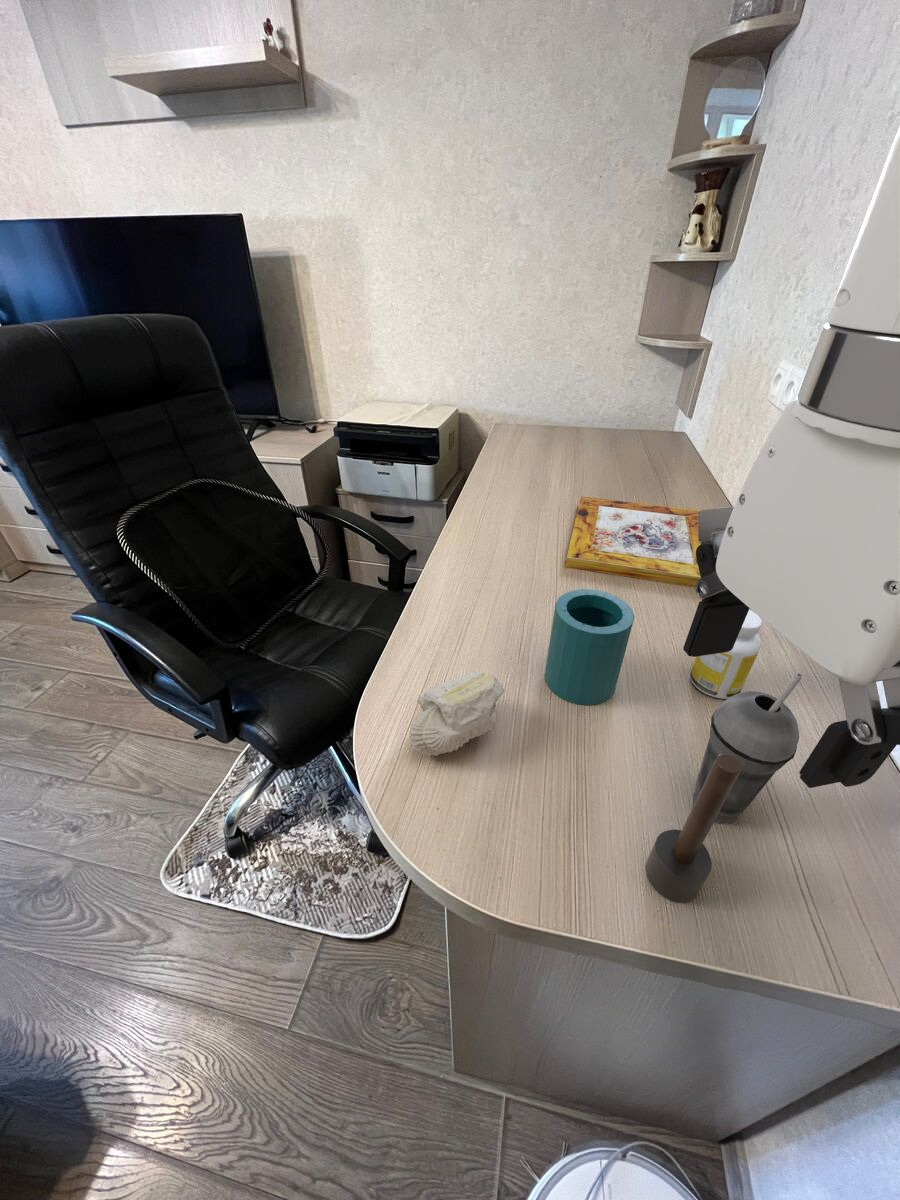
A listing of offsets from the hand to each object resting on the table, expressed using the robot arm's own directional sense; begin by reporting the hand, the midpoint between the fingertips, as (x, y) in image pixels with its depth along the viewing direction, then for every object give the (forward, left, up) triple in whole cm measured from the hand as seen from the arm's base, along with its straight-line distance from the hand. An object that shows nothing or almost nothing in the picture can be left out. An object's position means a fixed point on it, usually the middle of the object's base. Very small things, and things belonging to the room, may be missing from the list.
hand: (759, 706), depth 28 cm
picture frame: (+10, -74, -28) cm, 80 cm away
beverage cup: (-5, -15, -28) cm, 32 cm away
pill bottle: (-5, -35, -28) cm, 45 cm away
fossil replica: (+24, -12, -28) cm, 39 cm away
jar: (+12, -28, -28) cm, 41 cm away
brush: (-2, -5, -28) cm, 28 cm away
